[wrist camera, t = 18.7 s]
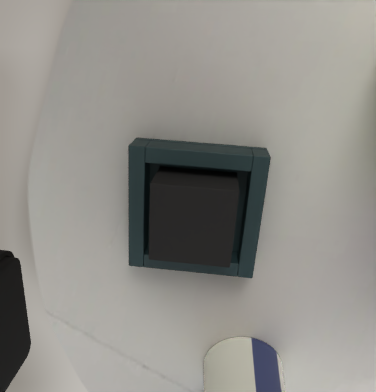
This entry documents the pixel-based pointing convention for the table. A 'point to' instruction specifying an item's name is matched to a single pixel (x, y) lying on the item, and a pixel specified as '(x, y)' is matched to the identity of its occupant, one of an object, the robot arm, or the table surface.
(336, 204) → the table surface
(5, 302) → the robot arm
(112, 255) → the table surface
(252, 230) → the socket pad
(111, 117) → the table surface
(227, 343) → the water bottle
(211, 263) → the black block
